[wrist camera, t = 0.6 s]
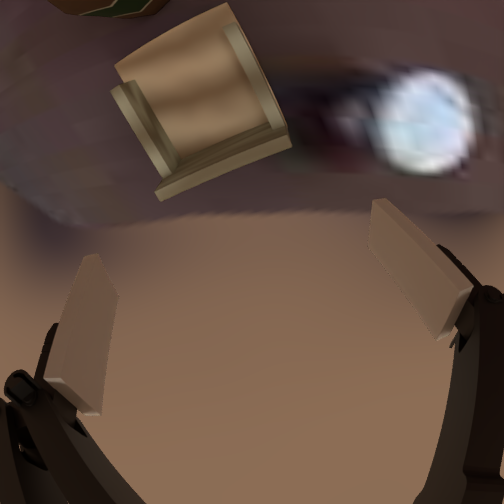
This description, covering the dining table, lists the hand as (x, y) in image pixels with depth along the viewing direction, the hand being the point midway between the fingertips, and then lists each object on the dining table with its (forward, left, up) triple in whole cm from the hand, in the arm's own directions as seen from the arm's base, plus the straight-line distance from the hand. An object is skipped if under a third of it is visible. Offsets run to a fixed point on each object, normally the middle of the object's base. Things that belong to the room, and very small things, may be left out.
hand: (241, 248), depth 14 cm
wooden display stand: (-5, -3, -22) cm, 23 cm away
